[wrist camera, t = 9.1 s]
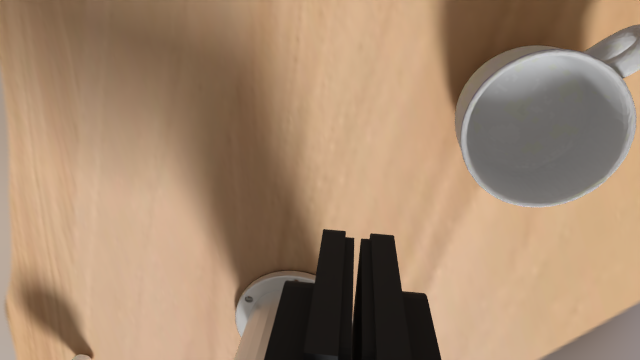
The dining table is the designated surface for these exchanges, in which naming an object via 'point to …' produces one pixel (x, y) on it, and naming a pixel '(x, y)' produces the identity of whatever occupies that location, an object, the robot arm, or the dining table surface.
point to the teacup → (549, 120)
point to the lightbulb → (81, 357)
